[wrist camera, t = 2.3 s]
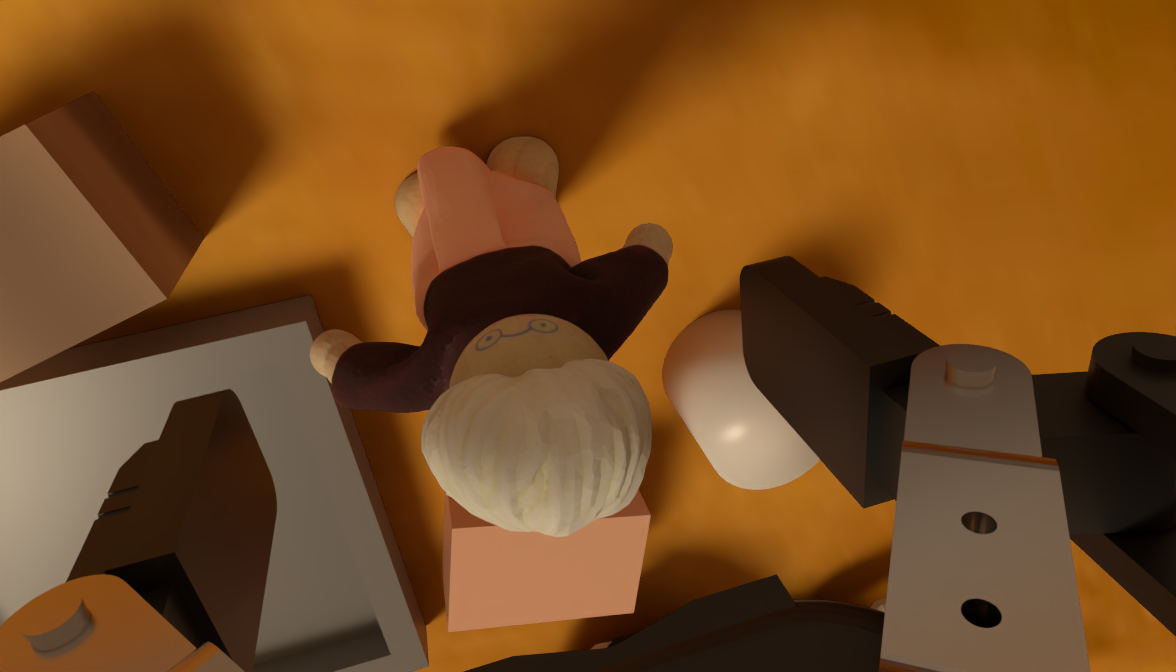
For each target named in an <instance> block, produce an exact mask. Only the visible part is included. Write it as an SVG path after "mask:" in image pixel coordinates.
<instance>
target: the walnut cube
mask: <svg viewBox="0 0 1176 672" xmlns="http://www.w3.org/2000/svg"><path fill="white" fill-rule="evenodd" d="M203 239H204V238H203V237H202V235H201V234H200V233H199V231H198V230H197V229H196V227H195V226H194V225H193V223H192V222H191V221H190V219H189V218H188V217H187V215H186V214H185V213H184V211H183V210H182V209H181V207H180V206H179V205H178V203H177V202H176V201H175V199H174V198H173V197H172V195H171V194H170V193H169V191H168V190H167V189H166V187H165V186H164V185H163V183H162V182H161V181H160V179H159V178H158V177H157V175H156V174H155V173H154V171H153V170H152V169H151V167H150V166H149V165H148V163H147V162H146V161H145V159H144V158H143V157H142V155H141V154H140V153H139V151H138V150H137V149H136V147H135V146H134V145H133V143H132V142H131V141H130V140H129V138H128V137H127V136H126V134H125V133H124V132H123V130H122V129H121V128H120V126H119V125H118V124H117V122H116V121H115V120H114V118H113V117H112V116H111V114H110V113H109V112H108V110H107V109H106V108H105V106H104V105H103V104H102V102H101V101H100V100H99V98H98V97H97V96H96V94H95V93H94V92H91V93H89V94H87V95H85V96H82V97H80V98H78V99H76V100H74V101H72V102H70V103H68V104H66V105H64V106H62V107H60V108H58V109H56V110H54V111H51V112H49V113H47V114H45V115H43V116H41V117H39V118H37V119H35V120H33V121H31V122H29V123H27V124H25V125H23V126H21V127H19V128H17V129H15V130H12V131H10V132H8V133H6V134H4V135H2V136H0V382H2V381H4V380H6V379H8V378H10V377H12V376H14V375H16V374H18V373H20V372H22V371H24V370H26V369H28V368H30V367H32V366H34V365H36V364H38V363H40V362H42V361H44V360H46V359H48V358H50V357H52V356H54V355H56V354H58V353H60V352H62V351H64V350H66V349H68V348H70V347H72V346H74V345H76V344H78V343H80V342H82V341H84V340H86V339H88V338H90V337H92V336H94V335H96V334H98V333H100V332H102V331H104V330H106V329H108V328H110V327H112V326H114V325H116V324H118V323H120V322H122V321H124V320H126V319H128V318H130V317H132V316H134V315H136V314H138V313H140V312H142V311H144V310H146V309H148V308H150V307H152V306H154V305H156V304H158V303H160V302H162V301H164V300H166V299H167V298H168V297H169V295H170V293H171V292H172V290H173V288H174V287H175V285H176V284H177V282H178V280H179V279H180V277H181V275H182V274H183V272H184V270H185V269H186V267H187V266H188V264H189V262H190V261H191V259H192V257H193V256H194V254H195V252H196V251H197V249H198V247H199V246H200V244H201V243H202V241H203Z"/></svg>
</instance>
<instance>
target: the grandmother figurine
mask: <svg viewBox="0 0 1176 672" xmlns="http://www.w3.org/2000/svg"><path fill="white" fill-rule="evenodd" d="M558 175H559V164H558V159H557V156H556V154H555V152H554V151H553V149H552V148H551V147H550V146H549V145H548V144H547V143H546V142H544V141H543V140H541V139H538V138H535V137H529V136H523V137H513V138H509V139H506V140H504V141H502V142H501V143H499V144H498V145H497V146H496V147H495V148H494V149H493V150H492V152H491V153H490V155H489V157H488V159H487V164H485V163H484V162H483V161H482V160H481V159H480V158H478V157H477V156H476V155H475V154H474V153H473V152H471V151H469V150H467V149H465V148H460V147H450V146H443V147H439V148H436V149H434V150H432V151H430V152H428V153H426V154H424V155H423V156H422V157H421V158H420V159H419V160H418V163H417V173H414V174H412V175H410V176H409V177H408V178H407V179H405V180H404V181H403V182H402V184H401V186H400V187H399V189H398V191H397V193H396V198H395V207H396V212H397V215H398V217H399V219H400V220H401V222H402V224H403V225H404V226H405V228H406V229H407V231H408V232H409V233H410V235H411V236H412V237H413V242H412V258H411V278H412V286H413V290H414V298H415V306H416V313H417V316H418V318H419V320H420V321H421V323H422V325H423V326H424V327H425V329H426V330H427V331H428V332H427V334H426V337H425V339H424V342H423V343H422V345H421V346H414V345H408V344H403V343H396V342H367V343H365V342H363V341H360V340H359V339H358V338H357V337H355V336H354V335H353V334H351V333H348V332H346V331H343V330H339V329H332V330H328V331H325V332H323V333H322V334H320V335H319V336H318V337H317V338H316V339H315V340H314V342H313V344H312V346H311V349H310V359H311V363H312V365H313V367H314V368H315V369H316V370H317V371H318V372H319V373H320V374H321V375H323V376H325V377H327V378H328V380H329V381H330V383H332V391H333V395H334V398H335V400H336V401H337V402H338V403H339V404H340V405H341V406H343V407H346V408H349V409H355V410H377V411H389V412H396V413H409V412H419V411H424V410H429V409H430V410H429V412H428V414H427V416H426V419H425V422H424V425H423V430H422V436H421V441H422V452H423V454H424V456H425V459H426V461H427V463H428V465H429V467H430V469H431V471H432V473H433V474H434V476H435V477H436V479H437V481H438V483H439V485H440V486H441V487H442V488H443V489H444V491H445V493H446V495H447V496H450V497H452V498H453V499H454V500H455V501H457V502H458V503H459V504H460V505H461V506H462V507H464V508H465V509H466V510H467V511H468V512H470V513H471V514H473V515H475V516H477V517H479V518H481V519H483V520H485V521H487V522H489V523H492V524H494V525H497V526H499V527H501V528H503V529H506V530H509V531H518V532H533V531H534V532H540V533H542V534H545V535H550V536H554V537H563V536H569V535H570V534H572V533H574V532H576V531H577V530H579V529H581V528H583V527H585V526H587V525H588V524H590V523H591V522H593V520H596V519H599V518H603V517H607V516H611V515H613V514H615V513H617V512H619V511H620V510H622V509H623V508H624V507H626V506H627V505H629V504H630V502H631V501H632V500H633V498H634V497H635V495H636V493H637V491H638V488H639V486H640V484H641V482H642V480H643V478H644V473H645V468H646V464H647V462H648V459H649V456H650V452H651V443H652V431H651V430H652V426H651V414H650V409H649V403H648V400H647V397H646V395H645V393H644V391H643V389H642V387H641V385H640V383H639V381H638V380H637V379H636V377H635V376H634V375H633V374H631V373H630V372H628V371H627V370H626V369H624V368H622V367H620V366H618V365H616V364H615V363H613V362H609V359H610V358H611V357H612V355H613V354H614V353H615V352H616V351H617V350H618V349H619V348H620V347H621V345H622V344H623V343H624V342H625V340H626V339H627V338H628V337H629V336H630V335H631V334H632V332H633V331H634V330H635V328H636V327H637V325H638V324H639V323H640V322H641V320H642V319H643V317H644V316H645V315H646V313H647V312H648V310H649V309H650V308H651V307H652V305H653V304H654V302H655V301H656V300H657V299H658V298H659V296H660V295H661V293H662V292H663V290H664V289H665V287H666V285H667V282H668V262H669V259H670V257H671V254H672V248H673V243H672V239H671V237H670V236H669V234H668V232H667V231H666V230H665V229H664V228H662V227H661V226H659V225H656V224H651V223H648V224H642V225H640V226H638V227H636V228H634V229H633V230H632V231H631V233H630V234H629V236H628V238H627V240H626V243H625V245H624V246H623V248H622V249H620V250H617V251H615V252H610V253H607V254H605V255H601V256H598V257H594V258H591V259H588V260H585V261H582V262H581V259H580V254H579V251H578V247H577V244H576V242H575V239H574V237H573V235H572V233H571V231H570V228H569V226H568V224H567V222H566V219H565V216H564V214H563V212H562V210H561V208H560V206H559V204H558V203H557V201H556V199H555V198H556V190H557V183H558Z"/></svg>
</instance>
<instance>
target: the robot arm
mask: <svg viewBox="0 0 1176 672" xmlns="http://www.w3.org/2000/svg"><path fill="white" fill-rule="evenodd" d="M740 299H741V321H742V343H743V355H744V360H745V364H746V368H747V371H748V373H749V376H750V378H751V380H752V382H753V383H754V385H755V386H756V387H757V388H758V390H759V391H760V392H761V393H762V394H763V395H764V396H765V398H766V399H767V400H768V401H769V402H770V403H771V404H772V405H773V407H774V408H775V409H776V410H777V411H778V412H779V413H780V414H781V416H782V417H783V418H784V419H785V420H786V421H787V422H788V424H789V425H790V426H791V427H792V428H793V429H794V430H795V431H796V433H797V434H798V435H799V436H800V437H801V438H802V439H803V441H804V442H805V443H806V444H807V445H808V446H809V447H810V448H811V450H812V451H813V452H814V453H815V454H816V455H817V456H818V458H819V459H820V460H821V461H822V462H823V463H824V464H825V465H826V467H827V468H828V469H829V470H830V471H831V472H832V473H833V474H834V476H835V477H836V478H837V479H838V480H839V481H840V482H841V484H842V485H843V486H844V487H845V488H846V489H847V490H848V491H849V493H850V494H851V495H852V496H853V497H854V498H855V499H856V501H857V502H858V503H859V504H860V505H861V506H862V507H863V508H867V507H870V506H873V505H877V504H880V503H883V502H887V501H890V500H893V499H895V500H896V511H895V520H894V530H893V540H892V549H891V559H890V569H889V578H888V588H887V598H886V608H885V612H882V611H879V610H876V609H873V608H869V607H865V606H860V605H856V604H851V603H846V602H838V601H830V600H793V599H792V598H791V596H790V595H789V593H788V591H787V590H786V588H785V587H784V585H783V584H782V582H781V581H780V579H779V578H778V576H777V575H773V576H770V577H767V578H764V579H760V580H757V581H754V582H751V583H747V584H744V585H741V586H738V587H735V588H731V589H728V590H725V591H722V592H718V593H715V594H712V595H709V596H706V597H702V598H699V599H696V600H693V601H692V602H690V603H688V604H686V605H685V606H683V607H681V608H680V609H678V610H676V611H674V612H673V613H671V614H669V615H668V616H666V617H664V618H662V619H661V620H659V621H657V622H655V623H654V624H652V625H650V626H649V627H647V628H645V629H643V630H642V631H640V632H638V633H637V634H635V635H633V636H631V637H630V638H628V639H626V640H625V641H623V642H621V643H619V644H617V645H615V646H612V647H608V648H602V649H591V650H579V651H568V652H556V653H545V654H533V655H522V656H512V657H509V658H506V659H503V660H499V661H496V662H493V663H490V664H487V665H483V666H480V667H477V668H474V669H470V670H467V671H464V672H1090V666H1089V660H1088V653H1087V647H1086V640H1085V634H1084V627H1083V621H1082V614H1081V608H1080V601H1079V595H1078V588H1077V582H1076V575H1075V569H1074V562H1073V556H1072V549H1071V543H1070V539H1071V540H1072V541H1073V542H1074V543H1075V544H1077V545H1078V546H1079V547H1080V548H1081V549H1082V550H1083V551H1084V552H1085V553H1086V554H1087V555H1088V556H1089V557H1091V558H1092V559H1093V560H1094V561H1095V562H1096V563H1097V564H1098V565H1099V566H1100V567H1101V568H1102V569H1104V570H1105V571H1106V572H1107V573H1108V574H1109V575H1110V576H1111V577H1112V578H1113V579H1114V580H1115V581H1116V582H1118V583H1119V584H1120V585H1121V586H1122V587H1123V588H1124V589H1125V590H1126V591H1127V592H1128V593H1129V594H1131V595H1132V596H1133V597H1134V598H1135V599H1136V600H1137V601H1138V602H1139V603H1140V604H1141V605H1142V606H1143V607H1145V608H1146V609H1147V610H1148V611H1149V612H1150V613H1151V614H1152V615H1153V616H1154V617H1155V618H1156V619H1158V620H1159V621H1160V622H1161V623H1162V624H1163V625H1164V626H1165V627H1166V628H1167V629H1168V630H1169V631H1170V632H1172V633H1173V634H1174V635H1175V636H1176V336H1171V335H1166V334H1159V333H1148V332H1129V333H1120V334H1115V335H1111V336H1108V337H1105V338H1103V339H1101V340H1100V341H1098V342H1097V343H1096V344H1095V346H1094V347H1093V351H1092V356H1091V360H1090V365H1089V370H1088V372H1072V373H1056V374H1040V375H1031V372H1030V370H1029V369H1028V368H1027V366H1026V365H1025V364H1024V363H1023V362H1021V361H1020V360H1019V359H1017V358H1016V357H1014V356H1012V355H1010V354H1008V353H1005V352H1003V351H1000V350H997V349H993V348H990V347H985V346H980V345H971V344H950V345H943V346H940V345H938V344H937V343H936V342H934V341H933V340H931V339H930V338H928V337H927V336H926V335H924V334H923V333H921V332H920V331H918V330H917V329H915V328H914V327H913V326H911V325H910V324H908V323H907V322H905V321H904V320H903V319H901V318H900V317H898V316H897V315H895V314H893V315H891V311H890V310H888V309H887V308H885V307H884V306H883V305H881V304H880V303H875V302H874V299H873V298H871V297H870V296H868V295H867V294H865V293H864V292H862V291H861V290H860V289H858V288H857V287H855V286H854V285H850V284H847V283H844V282H841V281H838V280H835V279H832V278H829V277H826V276H825V277H821V278H820V277H818V276H817V275H815V274H814V273H813V272H811V271H810V270H809V269H807V268H806V267H805V266H803V265H802V264H800V263H799V262H798V261H796V260H795V259H794V258H792V257H790V256H784V257H780V258H776V259H772V260H768V261H763V262H759V263H755V264H751V265H747V266H744V267H743V269H742V271H741V274H740ZM107 494H108V498H106V499H105V500H104V502H103V504H102V506H101V508H100V510H99V512H98V514H97V515H98V519H97V520H95V521H94V523H93V525H92V527H91V529H90V532H89V534H88V536H87V538H86V540H85V542H84V544H83V546H82V549H81V551H80V553H79V555H78V557H77V559H76V561H75V564H74V566H73V568H72V570H71V572H70V574H69V576H68V578H67V581H66V583H63V584H60V585H58V586H56V587H54V588H52V589H50V590H48V591H46V592H44V593H43V594H41V595H39V596H37V597H36V598H34V599H33V600H31V601H30V602H28V603H27V604H25V605H24V606H23V607H21V608H20V609H19V610H18V611H16V612H15V613H14V614H13V615H12V616H11V617H9V618H8V619H7V620H6V621H5V622H4V623H3V624H2V625H1V627H0V672H252V671H253V665H254V658H255V652H256V645H257V639H258V632H259V626H260V620H261V613H262V607H263V600H264V594H265V587H266V581H267V574H268V568H269V561H270V555H271V548H272V542H273V535H274V529H275V522H276V516H277V497H276V491H275V486H274V482H273V478H272V475H271V472H270V470H269V467H268V465H267V463H266V460H265V458H264V456H263V453H262V451H261V449H260V446H259V444H258V442H257V439H256V437H255V435H254V432H253V430H252V428H251V425H250V423H249V421H248V418H247V416H246V414H245V411H244V409H243V407H242V404H241V402H240V400H239V398H238V397H237V395H236V394H235V393H234V391H232V390H231V389H226V390H222V391H218V392H214V393H210V394H205V395H201V396H197V397H193V398H189V399H185V400H180V401H177V402H175V403H174V405H173V407H172V409H171V411H170V414H169V416H168V419H167V421H166V423H165V426H164V428H163V431H162V433H161V435H160V438H159V440H156V441H152V442H148V443H144V444H143V445H142V446H141V447H140V448H139V449H138V450H137V451H136V452H135V453H134V454H133V455H132V456H131V457H130V458H129V459H128V460H127V461H126V462H125V463H124V464H123V465H122V466H121V467H120V468H119V470H118V472H117V474H116V476H115V478H114V480H113V482H112V485H111V487H110V489H109V491H108V493H107Z"/></svg>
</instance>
